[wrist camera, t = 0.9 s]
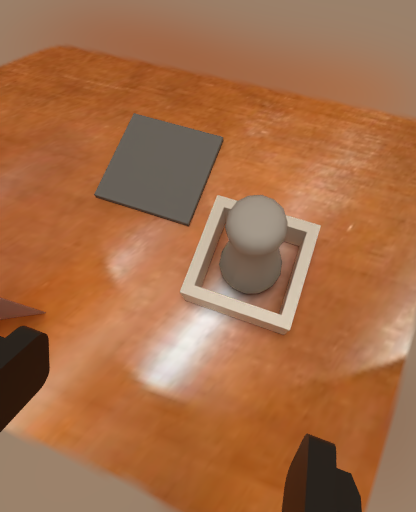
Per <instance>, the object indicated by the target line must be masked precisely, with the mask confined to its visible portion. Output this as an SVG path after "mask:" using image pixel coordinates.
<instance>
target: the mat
mask: <svg viewBox="0 0 416 512" xmlns="http://www.w3.org/2000/svg"><path fill="white" fill-rule="evenodd" d="M222 142H223V137H221V136H217V135H213V134H209V133H206V132H202V131H198V130H194V129H191V128H187V127H183V126H179V125H176V124H172V123H168V122H164V121H161V120H157V119H153V118H149V117H146V116H142V115H138V114H133V116H132V118H131V120H130V122H129V125H128V127H127V129H126V131H125V133H124V135H123V137H122V139H121V141H120V143H119V145H118V147H117V149H116V151H115V153H114V155H113V157H112V159H111V161H110V163H109V165H108V167H107V169H106V172H105V174H104V176H103V178H102V180H101V182H100V184H99V186H98V188H97V190H96V192H95V194H94V195H95V196H96V197H98V198H101V199H104V200H107V201H110V202H113V203H117V204H120V205H123V206H126V207H129V208H133V209H136V210H139V211H142V212H145V213H148V214H152V215H155V216H158V217H161V218H164V219H168V220H171V221H174V222H177V223H180V224H183V225H187V226H189V225H190V222H191V220H192V217H193V215H194V212H195V210H196V207H197V205H198V202H199V200H200V197H201V195H202V192H203V190H204V187H205V185H206V182H207V180H208V177H209V175H210V172H211V170H212V167H213V165H214V162H215V160H216V157H217V155H218V152H219V150H220V147H221V145H222Z"/></svg>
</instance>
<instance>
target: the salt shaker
mask: <svg viewBox="0 0 416 512" xmlns="http://www.w3.org/2000/svg"><path fill="white" fill-rule="evenodd" d="M287 226H288V222H287V218H286V215H285V212H284V209H283V208H282V207H281V206H280V205H279V204H278V203H277V202H276V201H275V200H274V199H271V198H268V197H266V196H263V195H254V196H247V197H245V198H243V199H241V200H239V201H237V202H236V203H235V205H234V206H233V207H232V208H231V210H230V211H229V213H228V216H227V221H226V226H225V228H226V232H227V235H228V239H229V241H228V243H227V244H226V246H225V248H224V249H223V251H222V254H221V259H220V263H219V266H220V269H221V272H222V276H223V278H224V279H225V280H226V281H227V283H228V284H229V285H230V286H231V287H232V288H233V289H235V290H238V291H240V292H243V293H245V294H252V293H260V292H262V291H264V290H266V289H268V288H270V287H272V286H273V284H274V283H275V281H276V280H277V279H278V277H279V276H280V272H281V265H282V260H281V255H280V251H279V247H280V245H281V244H282V243H283V241H284V240H285V238H286V233H287Z"/></svg>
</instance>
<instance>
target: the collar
mask: <svg viewBox="0 0 416 512" xmlns="http://www.w3.org/2000/svg"><path fill="white" fill-rule="evenodd" d="M236 202H237V201H236V200H233V199H229V198H226V197H223V196H219V195H217V198H216V200H215V203H214V205H213V208H212V210H211V213H210V216H209V218H208V221H207V223H206V226H205V228H204V231H203V234H202V236H201V239H200V241H199V244H198V246H197V249H196V252H195V254H194V257H193V259H192V262H191V265H190V267H189V270H188V272H187V275H186V277H185V280H184V283H183V285H182V288H181V290H180V293H181V295H182V296H183V297H184V299H185V300H186V301H188V302H191V303H194V304H197V305H200V306H203V307H205V308H208V309H211V310H214V311H217V312H220V313H223V314H225V315H228V316H231V317H234V318H237V319H240V320H243V321H245V322H248V323H251V324H254V325H257V326H260V327H263V328H265V329H268V330H271V331H274V332H277V333H280V334H282V335H284V334H286V333H287V332H288V331H290V328H291V325H292V321H293V318H294V314H295V311H296V308H297V304H298V301H299V298H300V294H301V291H302V287H303V284H304V281H305V277H306V274H307V270H308V267H309V264H310V260H311V257H312V254H313V250H314V247H315V243H316V240H317V237H318V233H319V230H320V226H321V225H317V224H314V223H311V222H307V221H304V220H301V219H297V218H294V217H290V216H287V215H286V218H287V222H288V226H287V233H286V238H285V240H284V242H287V243H291V244H294V245H297V246H300V247H299V250H298V254H297V257H296V260H295V263H294V267H293V270H292V273H291V276H290V280H289V283H288V286H287V289H286V293H285V296H284V299H283V302H282V306H281V309H280V312H279V314H277V313H274V312H271V311H268V310H265V309H262V308H259V307H256V306H254V305H251V304H248V303H245V302H242V301H239V300H236V299H233V298H230V297H227V296H224V295H221V294H218V293H216V292H213V291H210V290H207V289H204V288H201V286H202V284H203V281H204V278H205V276H206V273H207V270H208V268H209V265H210V262H211V260H212V257H213V254H214V252H215V249H216V246H217V244H218V241H219V238H220V235H221V233H222V230H223V227H224V225H225V223H226V221H227V216H228V213H229V211H230V210H231V208H232V207H233V206H234V205H235V203H236Z"/></svg>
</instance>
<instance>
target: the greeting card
mask: <svg viewBox="0 0 416 512" xmlns="http://www.w3.org/2000/svg"><path fill="white" fill-rule="evenodd" d="M42 313H46V312H43V311H40V310H37V309H34V308H30V307H27V306H24V305H21V304H18V303H15V302H12V301H9V300H6V299H2V298H0V320H1V319H8V318H15V317H22V316H29V315H35V314H42Z"/></svg>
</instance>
